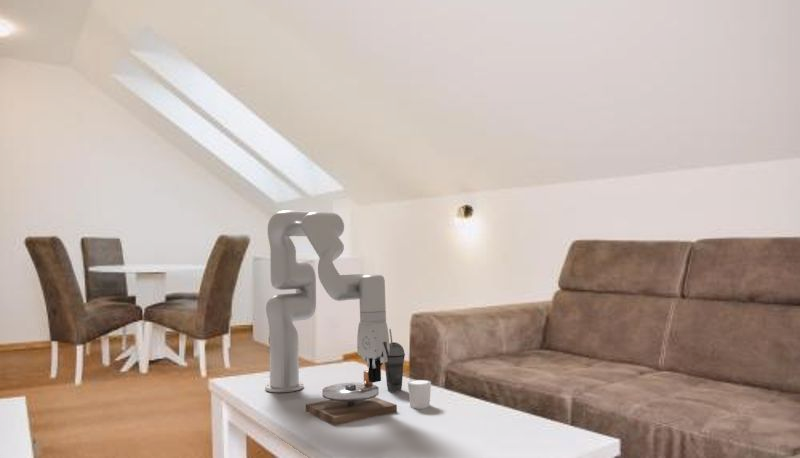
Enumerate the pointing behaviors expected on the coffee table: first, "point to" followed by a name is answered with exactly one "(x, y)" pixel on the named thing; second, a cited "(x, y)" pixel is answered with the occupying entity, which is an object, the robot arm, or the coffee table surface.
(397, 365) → the beverage cup
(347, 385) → the handwheel
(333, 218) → the robot arm
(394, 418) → the coffee table surface
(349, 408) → the wheel base
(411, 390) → the white faceted cup
